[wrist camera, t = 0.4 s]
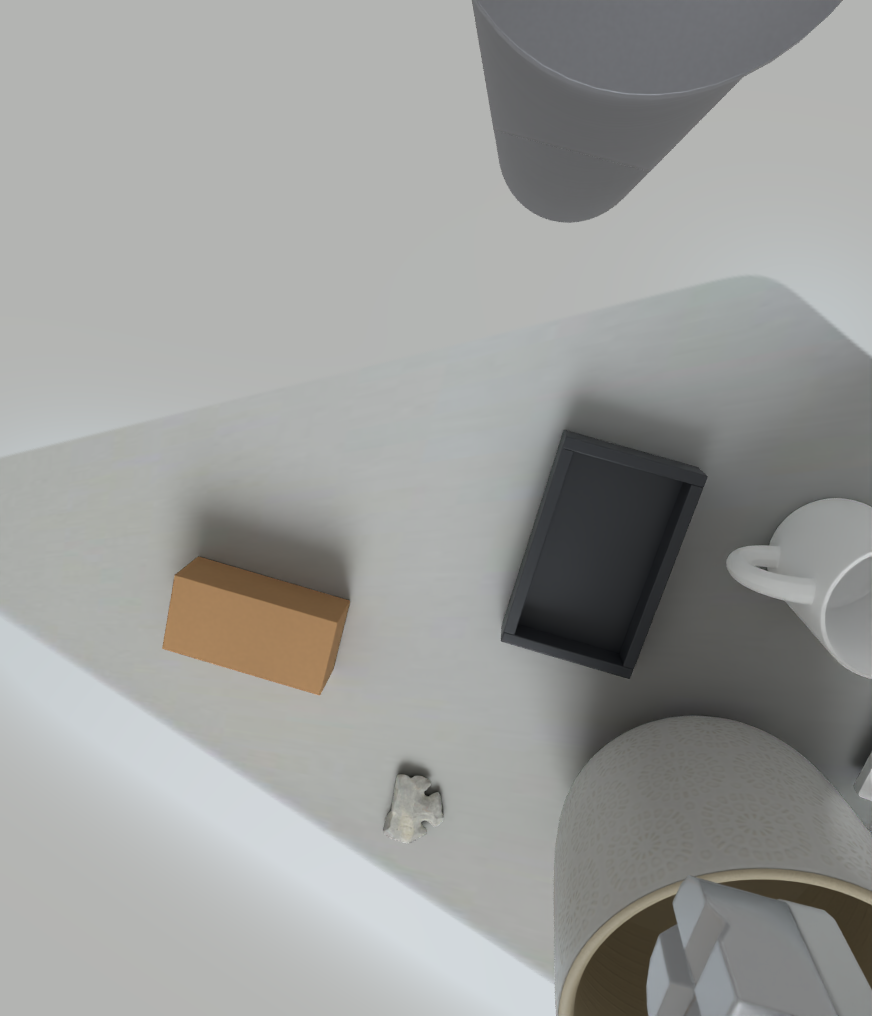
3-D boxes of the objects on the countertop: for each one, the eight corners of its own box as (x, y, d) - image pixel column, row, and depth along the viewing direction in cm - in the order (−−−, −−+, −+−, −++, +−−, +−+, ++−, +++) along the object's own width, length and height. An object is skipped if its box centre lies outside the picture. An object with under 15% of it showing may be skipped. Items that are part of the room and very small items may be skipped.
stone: (441, 769, 59) (379, 769, 59) (440, 778, 57) (376, 778, 58) (445, 837, 60) (384, 837, 61) (444, 848, 59) (382, 847, 60)
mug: (697, 594, 52) (737, 662, 42) (720, 481, 50) (769, 525, 40) (873, 616, 51) (957, 692, 41) (906, 502, 49) (1002, 553, 39)
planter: (542, 901, 60) (551, 1159, 42) (549, 671, 55) (562, 854, 37) (810, 921, 58) (940, 1203, 40) (845, 682, 53) (1015, 884, 34)
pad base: (563, 429, 50) (566, 436, 48) (698, 467, 50) (708, 476, 47) (501, 626, 55) (500, 641, 52) (625, 662, 54) (630, 679, 52)
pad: (198, 555, 56) (174, 574, 52) (350, 600, 55) (337, 622, 52) (185, 625, 58) (161, 649, 54) (333, 669, 57) (319, 695, 53)
